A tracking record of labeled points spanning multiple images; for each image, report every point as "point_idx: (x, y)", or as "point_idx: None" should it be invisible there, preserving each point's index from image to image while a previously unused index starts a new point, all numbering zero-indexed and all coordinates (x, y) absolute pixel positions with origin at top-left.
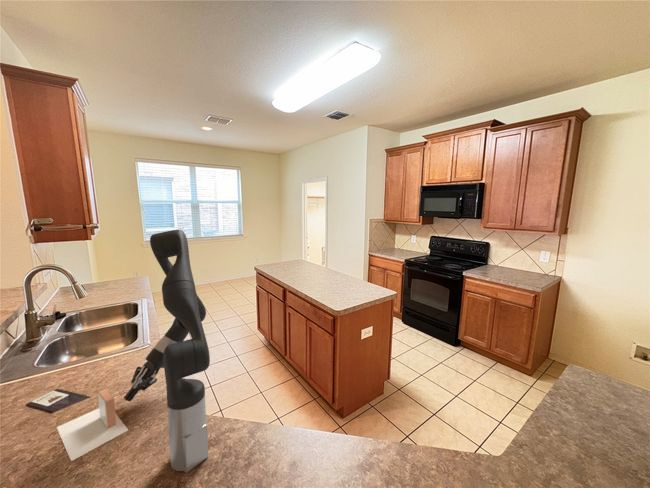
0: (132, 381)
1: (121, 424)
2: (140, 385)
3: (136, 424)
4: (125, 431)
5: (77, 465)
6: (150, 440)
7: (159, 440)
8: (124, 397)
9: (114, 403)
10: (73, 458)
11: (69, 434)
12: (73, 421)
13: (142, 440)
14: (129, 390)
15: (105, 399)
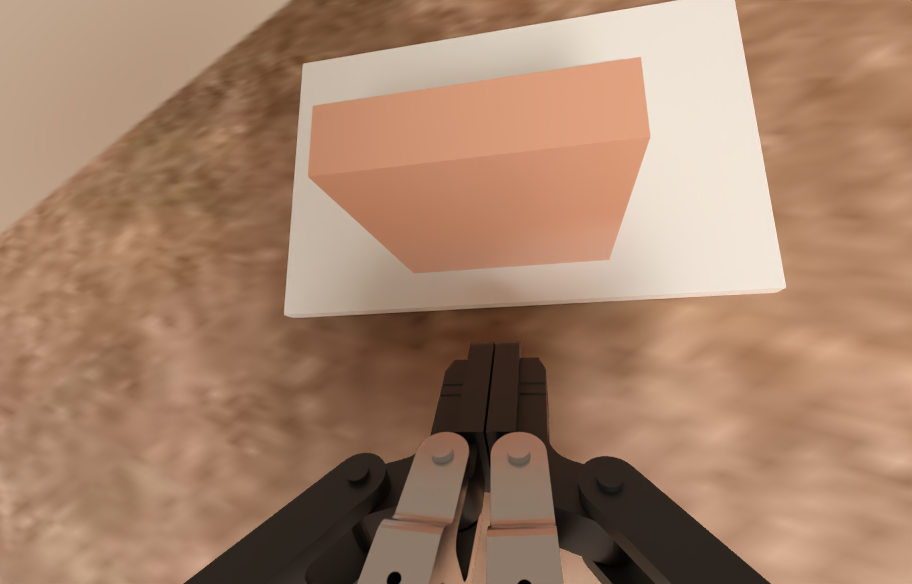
0: (597, 475)
1: (380, 298)
2: (319, 501)
3: (327, 376)
4: (286, 298)
5: (276, 94)
6: (121, 383)
7: (78, 417)
8: (508, 343)
9: (342, 206)
10: (311, 70)
11: (559, 53)
12: (716, 70)
13: (160, 352)
14: (513, 398)
15: (359, 103)
